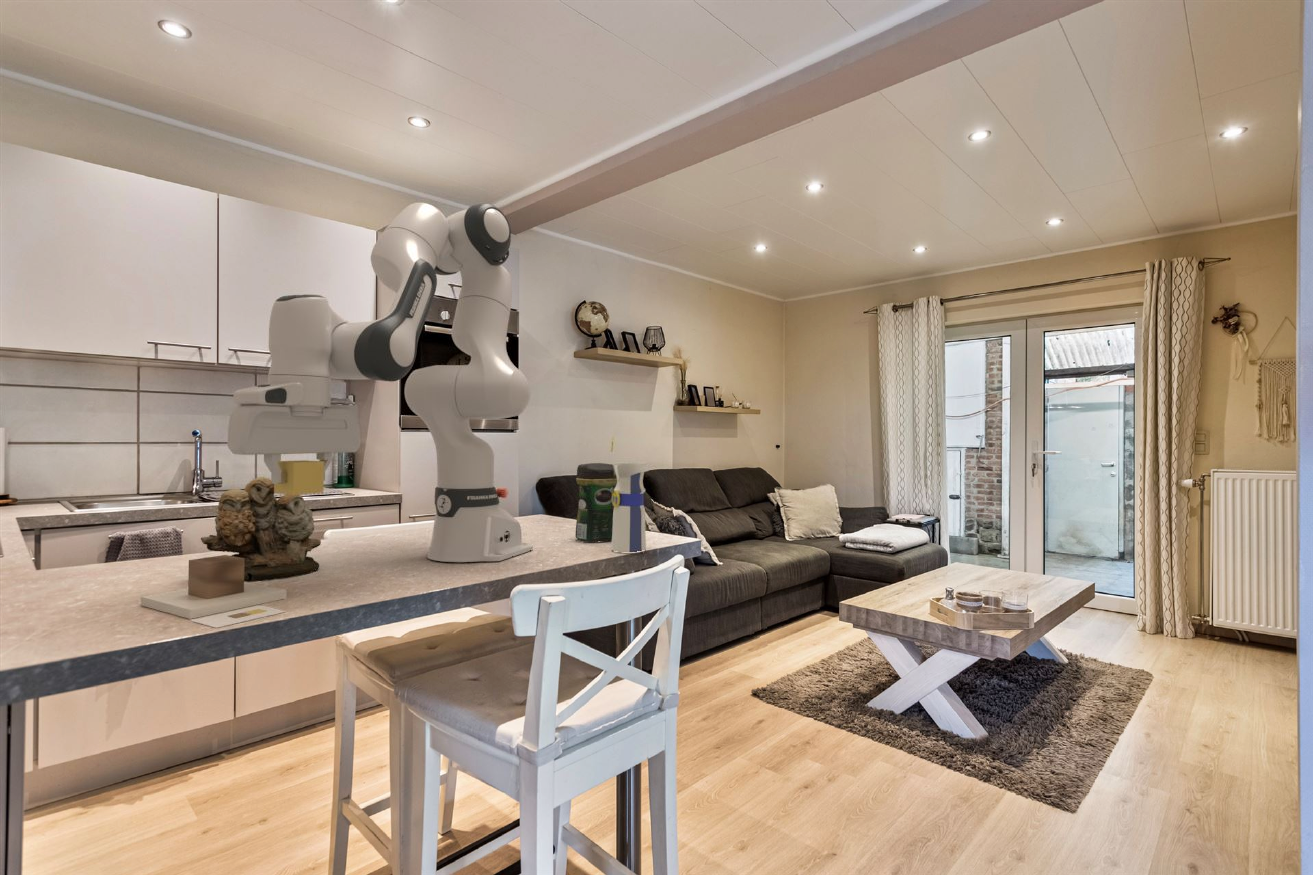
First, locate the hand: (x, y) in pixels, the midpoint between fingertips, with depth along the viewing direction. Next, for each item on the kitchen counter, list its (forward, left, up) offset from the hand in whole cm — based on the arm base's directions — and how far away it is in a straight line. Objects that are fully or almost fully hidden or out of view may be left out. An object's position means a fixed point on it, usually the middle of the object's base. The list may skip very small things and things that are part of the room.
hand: (298, 482), depth 105 cm
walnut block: (+11, -2, -16) cm, 19 cm away
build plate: (+11, -2, -17) cm, 20 cm away
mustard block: (0, 0, -2) cm, 2 cm away
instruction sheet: (+14, +9, -17) cm, 23 cm away
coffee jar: (-67, +12, -17) cm, 71 cm away
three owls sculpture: (-3, -15, -17) cm, 23 cm away
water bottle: (-59, +26, -17) cm, 67 cm away
